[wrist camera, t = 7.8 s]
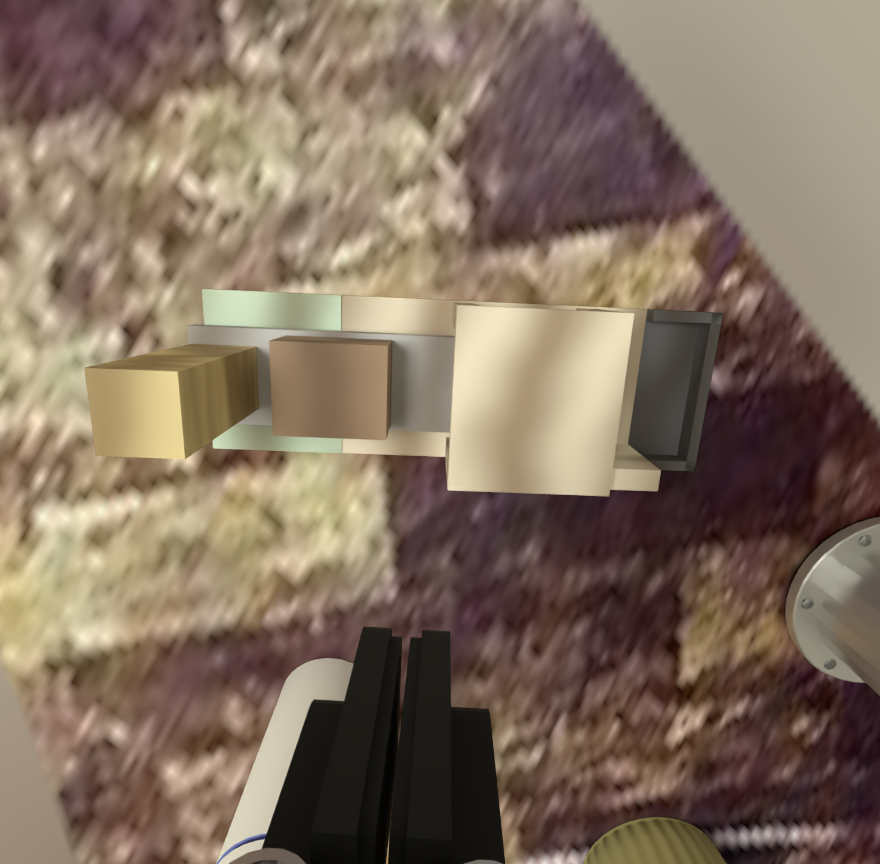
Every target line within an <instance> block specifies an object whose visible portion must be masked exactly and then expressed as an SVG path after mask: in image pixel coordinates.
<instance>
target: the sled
mask: <svg viewBox="0 0 880 864" xmlns="http://www.w3.org/2000/svg"><path fill="white" fill-rule="evenodd" d="M187 329H188V341H189V345H184V346H180V347H176V348H171V349H167V350H162V351H158V352H153V353H149V354H144V355H140V356H135V357H131V358H126V359H122V360H117V361H113V362H108V363H104V364H99V365H95V366H90V367H86V368H85V376H86V383H87V391H88V398H89V406H90V414H91V421H92V429H93V436H94V444H95V451H96V456H119V457H145V458H172V459H186V458H187V457H189V456H190V455H192V454H193V453H195V452H196V451H198V450H199V449H201V448H202V447H203V446H205V445H206V444H208V443H209V442H211V441H212V440H214V439H215V438H217V437H218V436H220V435H221V434H223V433H224V432H225V431H227V430H228V429H230V428H231V427H233V426H234V425H236V424H247V425H272V428H273V436H290V437H315V438H340V439H366V440H386V439H387V436H388V432H389V430H397V431H422V432H447V433H450V420H451V400H452V381H453V361H454V342H455V336H446V335H424V334H401V333H379V332H356V331H334V330H311V329H289V328H266V327H244V326H221V325H199V324H195V325H188V326H187Z"/></svg>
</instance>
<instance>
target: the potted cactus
mask: <svg viewBox="0 0 880 864" xmlns="http://www.w3.org/2000/svg"><path fill="white" fill-rule="evenodd" d="M583 864H726V862H725V861H724V859H723V858H722V856H721V855H720V853H719V852H718V850H717V849H716V847H715V846H714V844H713V843H712V842H711V841H710V839H709V838H708V837H707V836H706V835H705V834H704V833H703V832H702V831H701V830H699V829H698V828H696V827H695V826H693V825H691V824H689V823H687V822H684V821H681V820H678V819H673V818H667V817H649V818H641V819H636V820H633V821H629V822H626V823H624V824H621V825H619V826H617V827H615V828H613V829H611V830H610V831H608V832H607V833H605V834H604V835H603V836H602V837H600V838H599V839H598V840H597V841H596V842H595V843H594V845H593V846H592V847H591V849H590V850H589V851H588V853H587V855H586V857H585V860H584V863H583Z"/></svg>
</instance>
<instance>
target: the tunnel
mask: <svg viewBox="0 0 880 864" xmlns="http://www.w3.org/2000/svg"><path fill="white" fill-rule="evenodd" d="M202 298H203V312H204V325H221V326H244V327H266V328H289V329H311V330H334V331H356V332H379V333H401V334H424V335H446V336H455V342H454V361H453V381H452V400H451V420H450V433H447V432H422V431H397V430H389V432H388V436H387V439H386V440H366V439H340V438H315V437H290V436H273V428H272V425H247V424H236V425H234V426H233V427H231V428H230V429H228V430H227V431H225V432H224V433H223V434H221V435H220V436H218V437H217V438H215V439H214V440H213V448H220V449H246V450H272V451H297V452H323V453H362V454H387V455H413V456H439V457H445V460H446V474H447V487H448V490H455V491H482V492H509V493H536V494H562V495H589V496H609V493H610V490H636V491H658V486H659V480H660V474H661V470H672V471H695V465H696V460H697V454H698V449H699V443H700V438H701V432H702V427H703V421H704V416H705V410H706V405H707V399H708V394H709V388H710V383H711V377H712V372H713V366H714V361H715V355H716V350H717V344H718V338H719V333H720V327H721V322H722V316H723V313H713V312H693V311H672V310H650V309H628V308H607V307H585V306H563V305H542V304H520V303H498V302H476V301H455V300H433V299H411V298H390V297H368V296H346V295H325V294H303V293H281V292H259V291H238V290H216V289H202Z"/></svg>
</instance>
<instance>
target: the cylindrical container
mask: <svg viewBox="0 0 880 864" xmlns="http://www.w3.org/2000/svg"><path fill="white" fill-rule="evenodd" d="M352 668H353V663H350V662H348V661H345V660H341V659H334V658H322V659H316V660H312V661H309V662H306V663H305V664H303V665H301V666H299V667H298V668H296V669H295V670H294V671H293V672H292V673H291V674H290V675H289V677H288V678H287V680H286V681H285V684H284V686H283V689H282V691H281V694H280V697H279V699H278V702H277V705H276V707H275V710H274V712H273V715H272V718H271V720H270V723H269V726H268V728H267V731H266V733H265V736H264V739H263V741H262V744H261V747H260V749H259V752H258V755H257V757H256V760H255V762H254V765H253V768H252V770H251V773H250V776H249V778H248V781H247V784H246V786H245V789H244V792H243V794H242V797H241V800H240V802H239V805H238V808H237V810H236V813H235V816H234V818H233V821H232V824H231V826H230V829H229V832H228V834H227V837H226V840H225V842H224V845H223V848H222V850H221V853H220V856H219V858H218V861H217V864H229V863H230V862H232V861H233V860H235V859H237V858H239V857H241V856H242V855H244V854H246V853H248V852H252V851H256V850H260V849H262V846H263V843H264V840H265V837H266V834H267V831H268V828H269V825H270V822H271V819H272V816H273V813H274V810H275V807H276V804H277V801H278V798H279V795H280V792H281V789H282V786H283V784H284V781H285V778H286V775H287V772H288V769H289V766H290V763H291V760H292V757H293V754H294V751H295V748H296V745H297V742H298V739H299V736H300V733H301V730H302V727H303V724H304V721H305V718H306V715H307V712H308V709H309V707H310V704H311V702H312V701H313V700H314V699H317V700H335V701H344V699H345V696H346V692H347V688H348V684H349V680H350V676H351V672H352Z"/></svg>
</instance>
